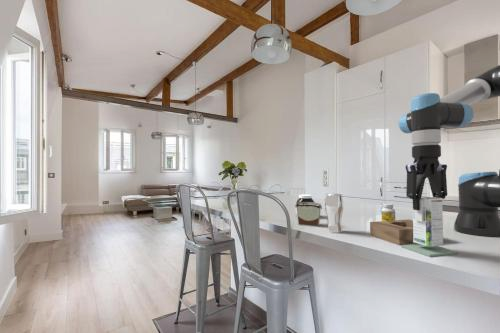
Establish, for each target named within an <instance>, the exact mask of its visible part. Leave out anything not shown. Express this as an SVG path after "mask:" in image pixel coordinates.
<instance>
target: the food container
mask: <svg viewBox="0 0 500 333" xmlns="http://www.w3.org/2000/svg"><path fill="white" fill-rule="evenodd" d="M296 207H297V214H296V216H297V223H298V225H299V226H307V227H316V228H319V227H320V220H321V218H320V217H321V210H322V209H323V207H322V204H321V203H320V202H316V201H314V202H298V203H295V205H294V208H296Z"/></svg>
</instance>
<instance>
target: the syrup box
mask: <svg viewBox="0 0 500 333" xmlns="http://www.w3.org/2000/svg"><path fill="white" fill-rule="evenodd" d="M420 200H423V203H424V222H421V221H416V220H414V210H413V209H412V220H413V242H414V243H417V244H421V245H424V246H427V247H434V246H439V247H441V246H443V245H444V227H443V226H444V220H443V219H444V218H443V217H444V216H443V213H444V212H443V199H442V198H435V197H433V196H426V195H425V196H424V195H422V196H421V199H420Z"/></svg>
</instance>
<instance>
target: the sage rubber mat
mask: <svg viewBox="0 0 500 333" xmlns="http://www.w3.org/2000/svg"><path fill="white" fill-rule="evenodd" d="M401 248H403V249H406V250H409V251H412V252H414V253H418V254H420V255H423V256H425V257H429V258H432V257H439V256H448V255H449V256H450V255H456V254H458V252H457V251H456V250H453V249H449V248H445V247H442V246H434V247H427V246H424V245H421V244H418V243H417V244H407V245H401Z"/></svg>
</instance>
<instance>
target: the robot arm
mask: <svg viewBox="0 0 500 333" xmlns="http://www.w3.org/2000/svg"><path fill="white" fill-rule="evenodd" d="M497 97H500V64H499V65H496V66H494V67H491V68H490V69H488V70H486V71H484V72H482V73H481V74H479V75H478V76H475V77H474V78H472V79H470V80H468V81H467V82H466V83H465V84H464V85H463V86H462V87H460V88H458V89H456V90H454V91H452V92H449V93H448V94H446V95H445V96H443V97H441V96H440V95H439V93H436V92H429V93H427V92H426V93H422V94H417V95H415V96H413V97H412V98H411V102H410V112H408V113H406V114H403V115H402V116H400V117H399V119H398V127H399V129H400V131H401V132H402V133H404V134H411V144H412V145H413V146H412V147H411V157H412V158H413V163H412V164H406V165H405V170H406V194H405V195H406V197H407V198H409V199H411V200H412V211H413V210H414V220H416V221H421V222H424V203H423V200H420V199H421V196H423V192H424V191H423V190H424V186H425V182H426V179H427V180H428V184H429V188H430V191H431V194H432V197H435V198H442V200H445V199H446V197H447V196H448V185H447V184H448V182H447V168H448V165H447V164H442V163H440V161H439V158H440V157H441V156H442V146H441V145H440V144H441V143H442V136H441V129H447V128H462V127H466V126H468V125H469V124H470V123H471V122H472V121H473V119H474V115H475V114H474V113H475V112H474V109H473V107H472V106H471V105H474V104H475V103H476V104H477V103H483V102H484V101H485V102H486V100H488V99H489V100H490V99H494V98H497ZM498 171H499V172H497V171H483V172H472V173H471V172H470V173H464V174H461V175H460V176H459V177H458V184H457V186H458V214H457V216H456V218H455V222H454V225H453V229H454V231H455V232H458V233H462V234H467V235H475V236H483V237H500V214H499V208H500V169H499V170H498Z"/></svg>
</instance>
